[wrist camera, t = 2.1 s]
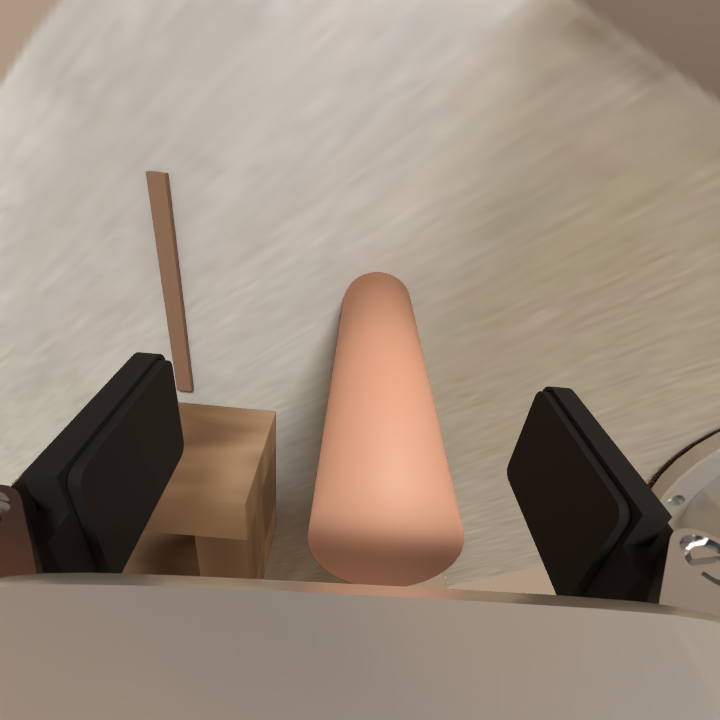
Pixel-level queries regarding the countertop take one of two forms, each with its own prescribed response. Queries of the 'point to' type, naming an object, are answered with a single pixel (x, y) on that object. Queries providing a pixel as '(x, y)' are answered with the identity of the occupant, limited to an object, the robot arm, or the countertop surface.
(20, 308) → the countertop surface
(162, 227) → the brown thin square rod
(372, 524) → the dowel
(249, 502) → the wooden block with hole
